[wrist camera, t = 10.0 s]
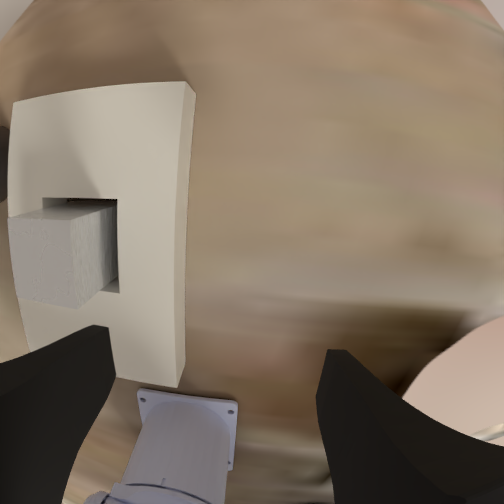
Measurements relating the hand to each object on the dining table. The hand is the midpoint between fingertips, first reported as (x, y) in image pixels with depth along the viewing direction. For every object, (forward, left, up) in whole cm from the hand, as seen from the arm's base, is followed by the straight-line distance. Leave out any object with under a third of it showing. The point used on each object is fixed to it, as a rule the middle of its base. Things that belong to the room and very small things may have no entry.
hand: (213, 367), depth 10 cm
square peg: (+2, +9, -11) cm, 14 cm away
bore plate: (+2, +9, -10) cm, 14 cm away
